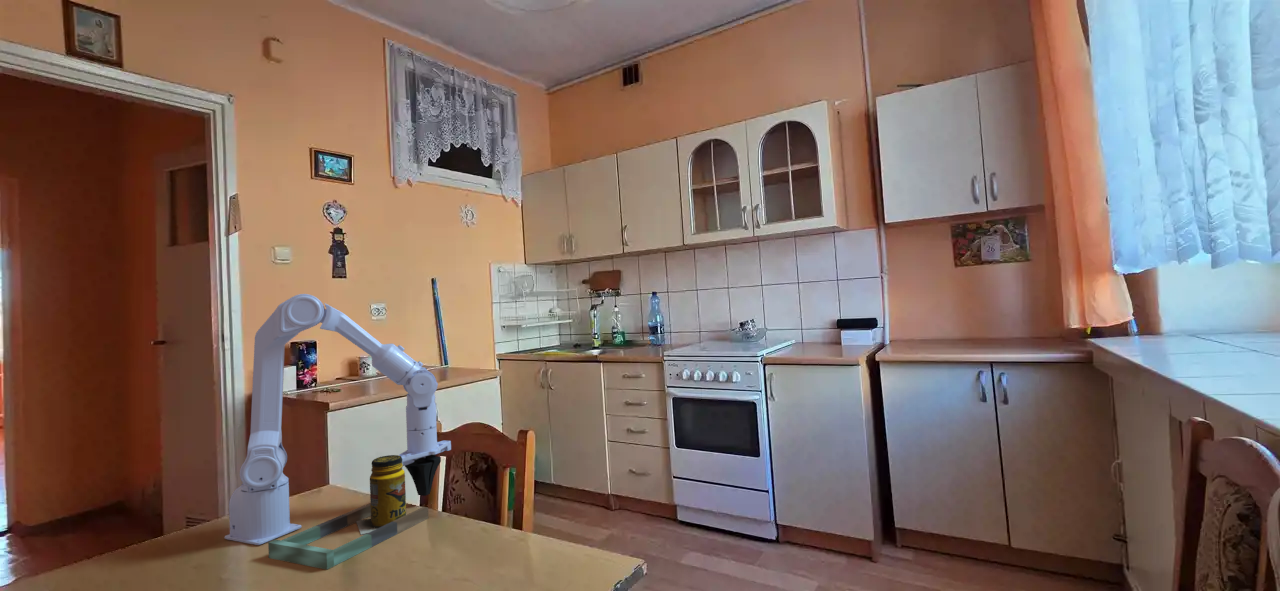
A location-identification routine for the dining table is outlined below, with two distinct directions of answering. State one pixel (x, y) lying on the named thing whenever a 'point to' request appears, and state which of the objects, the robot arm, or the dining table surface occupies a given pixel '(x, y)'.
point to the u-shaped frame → (324, 558)
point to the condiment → (385, 493)
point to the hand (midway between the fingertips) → (424, 494)
